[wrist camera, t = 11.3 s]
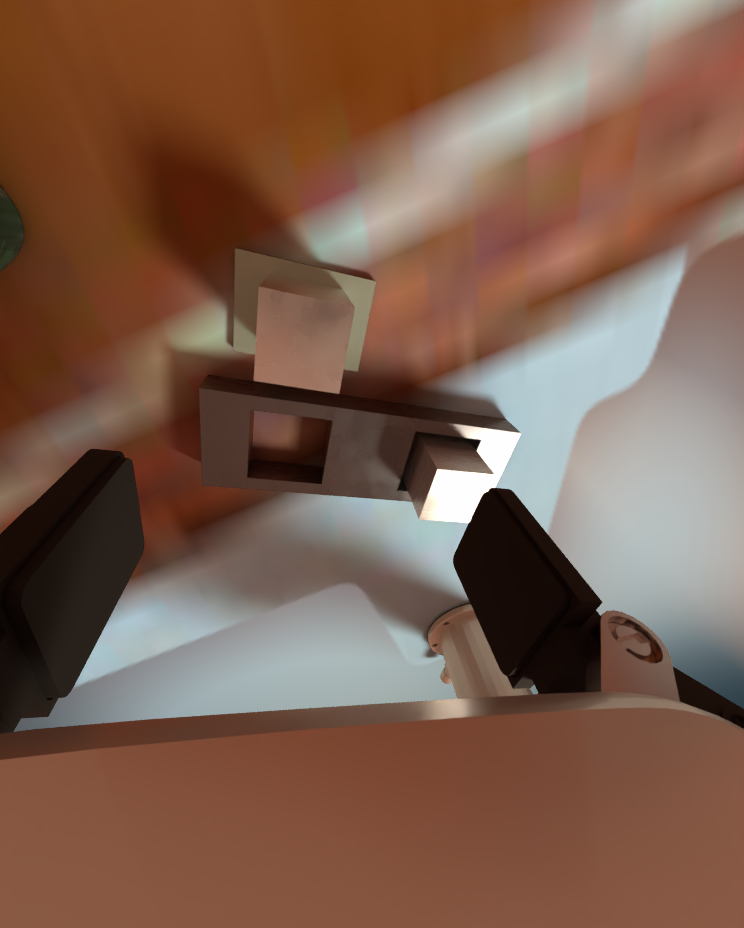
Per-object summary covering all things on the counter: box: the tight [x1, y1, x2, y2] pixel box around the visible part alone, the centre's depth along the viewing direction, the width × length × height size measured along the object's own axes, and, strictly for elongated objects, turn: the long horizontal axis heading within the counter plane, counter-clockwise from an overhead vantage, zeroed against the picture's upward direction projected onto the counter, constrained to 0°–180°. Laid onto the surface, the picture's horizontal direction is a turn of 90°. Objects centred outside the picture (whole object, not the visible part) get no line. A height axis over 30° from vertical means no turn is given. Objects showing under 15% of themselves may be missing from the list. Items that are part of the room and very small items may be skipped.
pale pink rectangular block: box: [254, 273, 355, 394], centre depth 24 cm, size 5×5×8 cm
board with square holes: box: [199, 375, 521, 502], centre depth 33 cm, size 9×28×3 cm, turn 77°
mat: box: [233, 248, 376, 372], centre depth 27 cm, size 7×10×1 cm
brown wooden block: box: [402, 431, 495, 523], centre depth 33 cm, size 5×5×8 cm
